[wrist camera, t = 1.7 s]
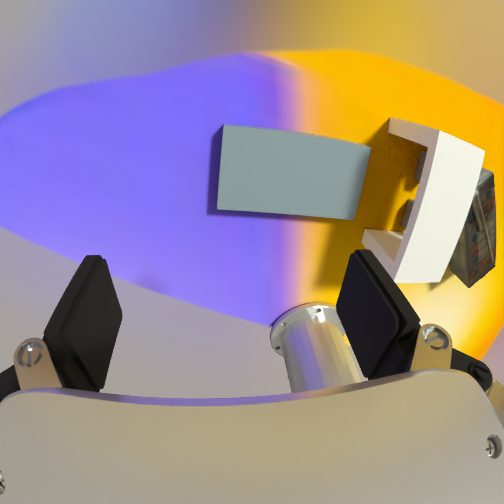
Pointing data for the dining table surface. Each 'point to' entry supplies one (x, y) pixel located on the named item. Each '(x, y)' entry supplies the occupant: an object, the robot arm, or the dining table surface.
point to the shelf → (429, 206)
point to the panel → (290, 172)
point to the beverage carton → (477, 234)
